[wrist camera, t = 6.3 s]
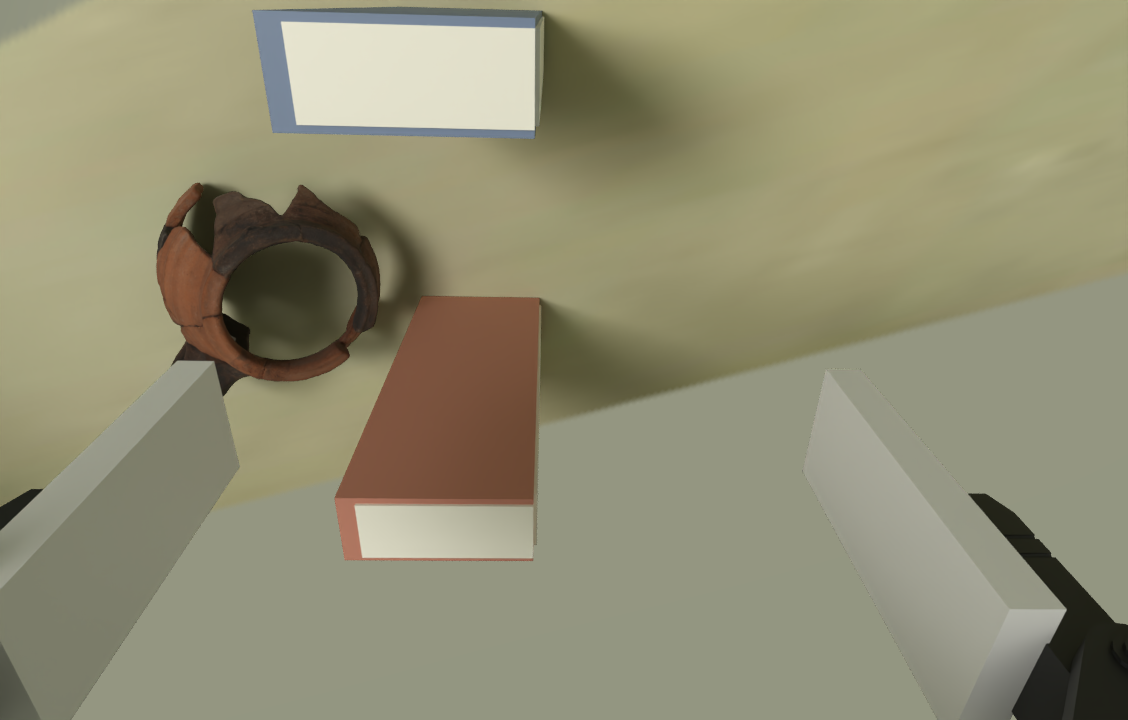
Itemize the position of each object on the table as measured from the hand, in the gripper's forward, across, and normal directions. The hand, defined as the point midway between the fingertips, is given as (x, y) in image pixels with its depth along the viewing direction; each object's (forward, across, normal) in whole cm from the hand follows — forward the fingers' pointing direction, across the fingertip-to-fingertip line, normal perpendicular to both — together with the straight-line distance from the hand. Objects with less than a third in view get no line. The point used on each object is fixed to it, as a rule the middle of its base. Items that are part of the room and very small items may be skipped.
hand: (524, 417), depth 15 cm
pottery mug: (+21, -15, -4) cm, 26 cm away
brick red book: (+20, -3, -6) cm, 21 cm away
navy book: (+20, -3, +7) cm, 21 cm away
